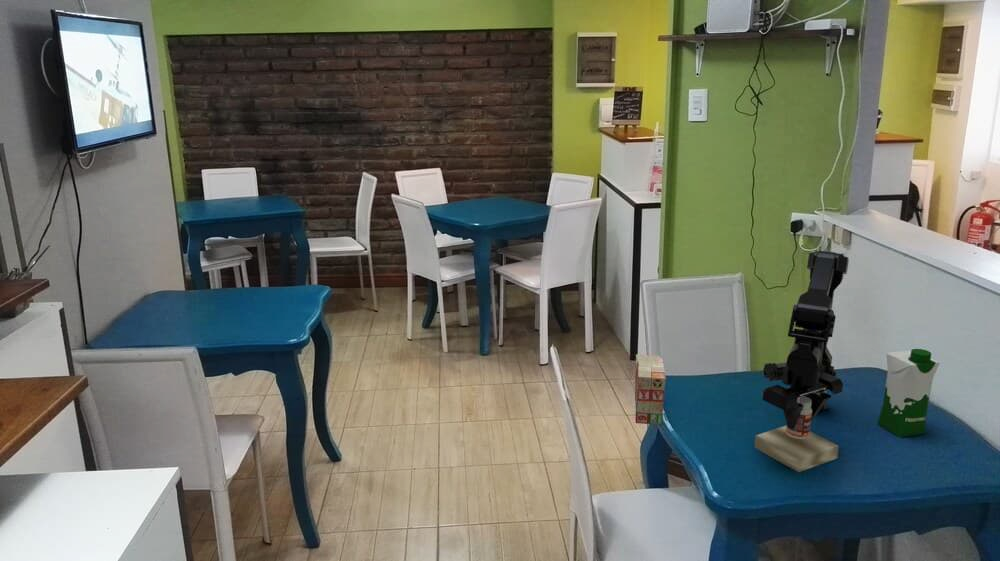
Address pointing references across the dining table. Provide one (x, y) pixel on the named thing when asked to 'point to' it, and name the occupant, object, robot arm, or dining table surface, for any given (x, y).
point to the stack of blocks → (649, 389)
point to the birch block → (796, 449)
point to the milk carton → (907, 392)
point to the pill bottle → (802, 420)
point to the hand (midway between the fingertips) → (798, 426)
